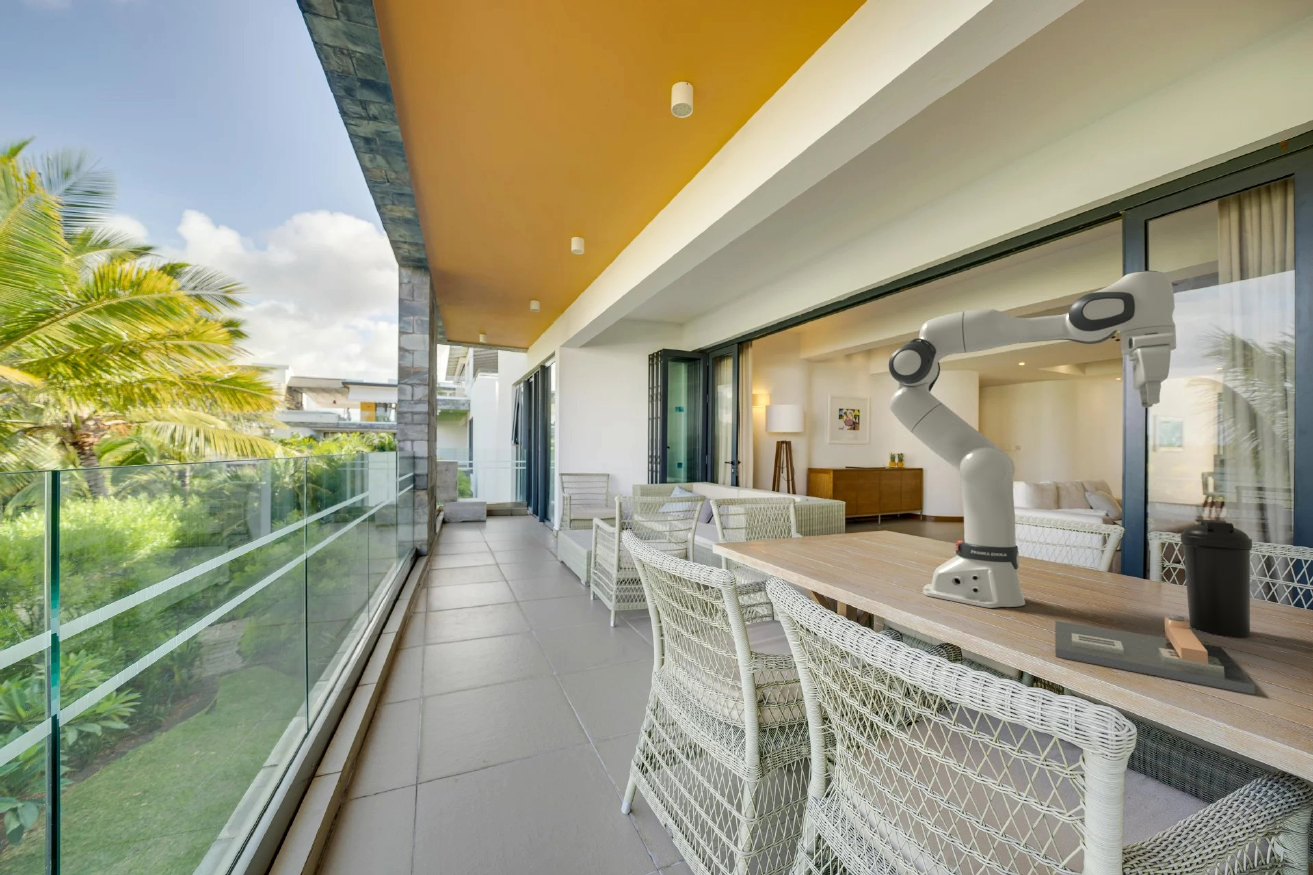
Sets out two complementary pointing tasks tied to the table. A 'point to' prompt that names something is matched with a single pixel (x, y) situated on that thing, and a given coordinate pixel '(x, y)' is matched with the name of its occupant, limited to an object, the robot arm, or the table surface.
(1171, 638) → the swing bar
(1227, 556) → the water bottle
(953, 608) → the table surface
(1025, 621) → the table surface
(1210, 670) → the label panel
